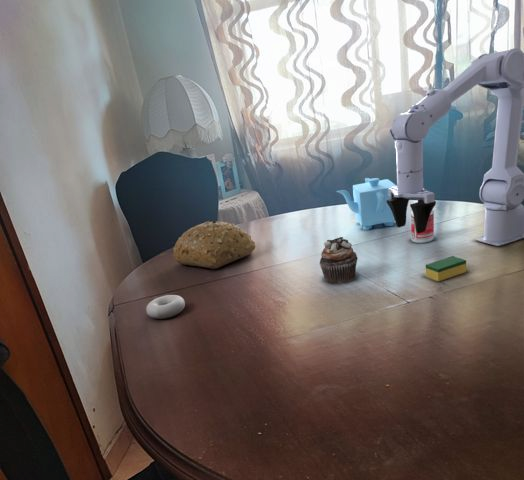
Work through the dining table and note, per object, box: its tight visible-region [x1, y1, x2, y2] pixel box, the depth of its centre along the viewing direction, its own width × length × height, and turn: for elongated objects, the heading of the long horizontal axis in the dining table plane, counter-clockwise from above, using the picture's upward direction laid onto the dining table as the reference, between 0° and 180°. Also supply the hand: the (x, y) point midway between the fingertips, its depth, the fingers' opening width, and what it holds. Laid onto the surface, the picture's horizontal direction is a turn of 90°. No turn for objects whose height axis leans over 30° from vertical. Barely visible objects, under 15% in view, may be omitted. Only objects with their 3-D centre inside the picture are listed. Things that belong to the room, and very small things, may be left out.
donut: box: [145, 294, 186, 320], centre depth 118 cm, size 10×3×10 cm
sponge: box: [425, 255, 467, 282], centre depth 109 cm, size 8×4×3 cm, turn 111°
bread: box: [172, 220, 256, 270], centre depth 150 cm, size 24×21×12 cm
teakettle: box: [335, 177, 397, 231], centre depth 154 cm, size 19×19×15 cm
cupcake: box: [319, 236, 358, 284], centre depth 118 cm, size 10×10×10 cm
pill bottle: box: [410, 200, 435, 244], centre depth 132 cm, size 6×6×11 cm
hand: (410, 229), depth 112 cm, fingers open, 7 cm apart
